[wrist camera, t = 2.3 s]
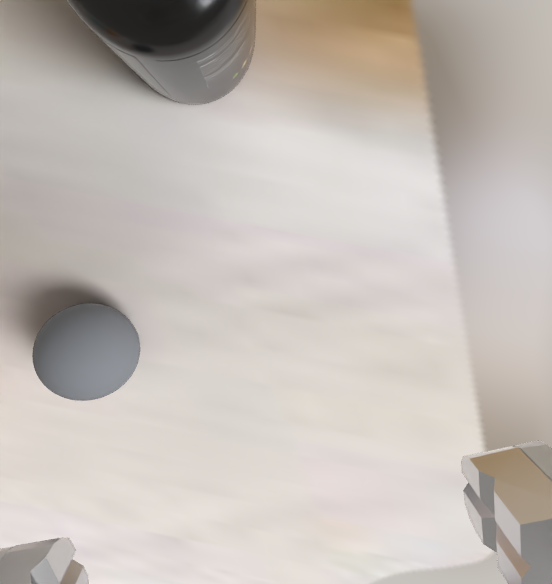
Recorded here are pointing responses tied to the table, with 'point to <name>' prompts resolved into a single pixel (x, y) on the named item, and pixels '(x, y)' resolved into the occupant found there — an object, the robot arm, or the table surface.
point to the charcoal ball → (86, 352)
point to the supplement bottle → (178, 42)
